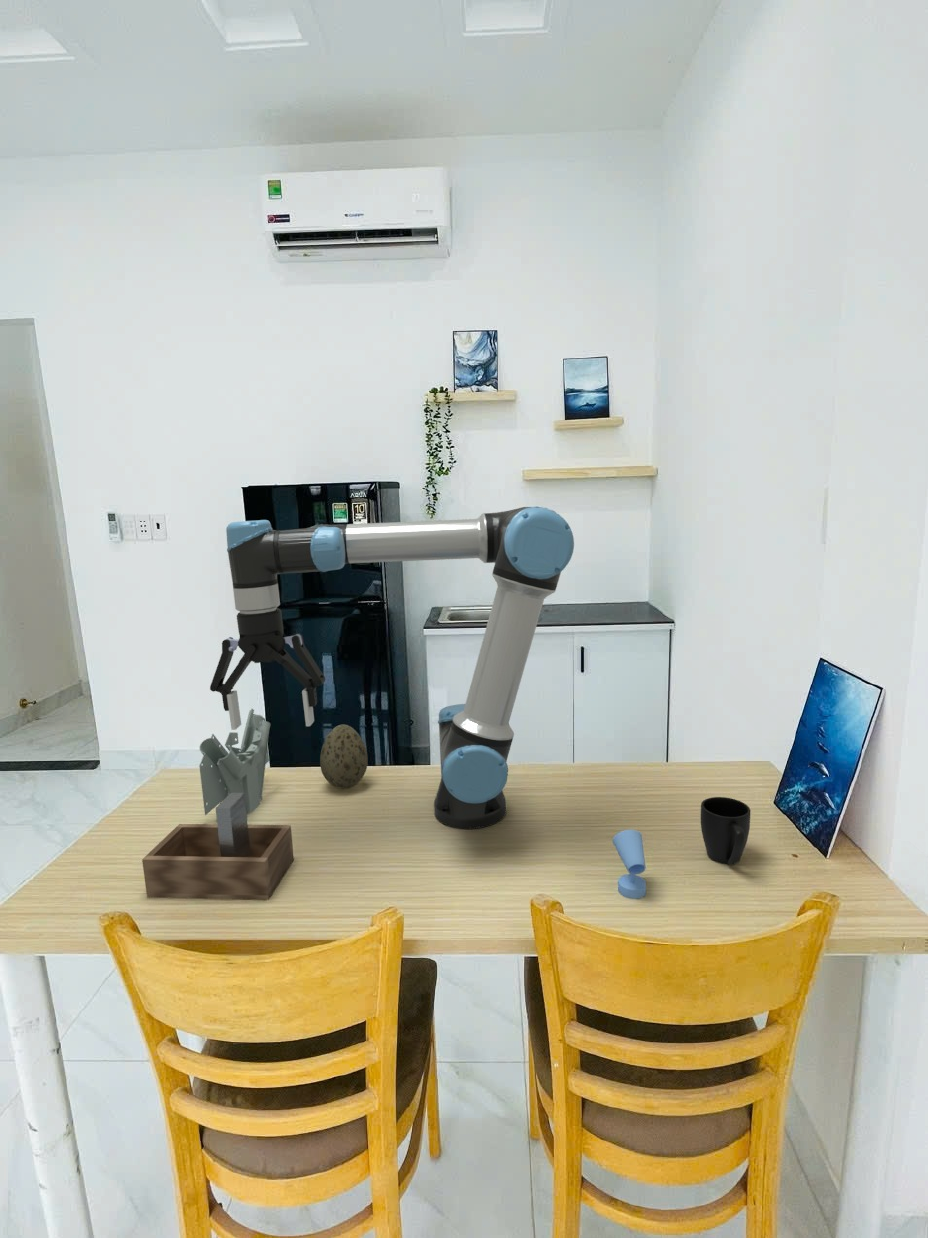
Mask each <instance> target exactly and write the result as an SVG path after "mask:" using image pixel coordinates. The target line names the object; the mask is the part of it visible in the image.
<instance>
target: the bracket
mask: <svg viewBox="0 0 928 1238" xmlns="http://www.w3.org/2000/svg"><path fill="white" fill-rule="evenodd" d="M254 712H255V709H253V708H250V710H249V712H248V715H247V719H246V723H245V728H244V732H243V736H242V740H241V745H240V748H239V747H234V746H235V745H237V744H239V733H238V732H233V731H231V732H229V733H228V735H227V739H226V741H225V744H224V746H223V744H222V743H221V742H220V741H219V740H218V738H217V736H216V735H214V733H212V734H211V736H210V737H208V738H205V739H204V740H203V741H202V742H201V743H200V745H199V751H200V753H201V754H202V758H201V761H200V763H199V766H198V767H199V773H200V774H199V775H200V783H201V793H202V800H203V808H204V810H203V811H204V816H207V815H208V814H209V813H210V812H211V811H212V810H214V809H216V807H217V806H218V805H219V804H220V803H221V802H222V801H223V800H224V799H225V798H226V797H227V796H228V795H229V794H230V793H244V794H245V804H246V813H247V814H251V813H252V812H254V811H255V810H256V809H257V808H258V807H259V805H261V801H260V800H263V799H262V798H263V791H264V782H265V781H264V780H265V773H266V772H265V771H266V764H267V763H269V762H270V755H269V745H268V743H269V736H270V735H269V734H270V728H271V723H270V722H269V721H266V718H264V717H263V716H262V715H260V714H256V713H254ZM225 748H227V749H225ZM227 750H228V751H227Z"/></svg>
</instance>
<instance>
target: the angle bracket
mask: <svg viewBox="0 0 928 1238" xmlns="http://www.w3.org/2000/svg"><path fill="white" fill-rule="evenodd" d="M215 814H216V824H217V826H218V835H219V844H220V853H221V857H251V853H250V843H249V833H248V825H249V824H248V813H246V804H245V794H244V793H230V794H229V795H228V796H227V797H226V798H225V799H224V800H223V801H222V802H221V803H219V804H218V805H217V806H216V807H215Z"/></svg>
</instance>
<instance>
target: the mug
mask: <svg viewBox="0 0 928 1238" xmlns="http://www.w3.org/2000/svg"><path fill="white" fill-rule="evenodd" d="M700 803H701V804H700V828H701V835H702V839H703V843H704V847H705V850H706V855H707V857H708V858H709V859H710V860H712V861H713V862H716V863H718V864H721V865H722V864H724V865H730V866H731V865H732V866H733V865H736V864H737V863H739V862H740V861H741V857H742V855H743V853H744V850H745V848H746V845H747V842H748V838H749V833H750V829H751V828H750V827H751V811H752V810H751V808H750V806H749V805H748V804H746V803H744V802H742V801H741V800H737V799H734V798H731V797H727V796H726V797H725V796H714V797H709V798H705V799H703V800H702V802H700Z"/></svg>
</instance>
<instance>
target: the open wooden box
mask: <svg viewBox="0 0 928 1238" xmlns="http://www.w3.org/2000/svg"><path fill="white" fill-rule="evenodd" d="M248 833H249V843H250V853H251V857H221V853H220V844H219V835H218V826H217V823H210V824H209V823H179V824H178V825H177V826H175V827H174V829H173V830H171V831H170V832H169V833H168V834H167V835H166V836H165V837H164V838H163V839H162V840H161V841H160V842H159V843H158V844H157V845H155V846H154V848H153V849H152V850H150V851H149V852H148V853H147V854H146V855H145V856H144V857H143V858H142V859H141V862H142V869H143V877H144V884H145V890H146V891H145V892H146V898H160V899H161V898H163V899H164V898H166V899H167V898H168V899H171V898H172V899H208V900H209V899H211V900H212V899H213V900H214V899H215V900H254V901H255V900H256V901H269V900H270V899H271V897H272V895H273V894H274V892H275V890H277V888H278V886H279V884H280V883H281V881H282V880H283V878H284V877H285V874H286V873H287V872H288V870H289V869H290V867H291V865H292V864H293V862H294V859H295V857H294V856H295V855H294V848H293V846H294V845H293V835H292V826H291V824H248Z"/></svg>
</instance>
